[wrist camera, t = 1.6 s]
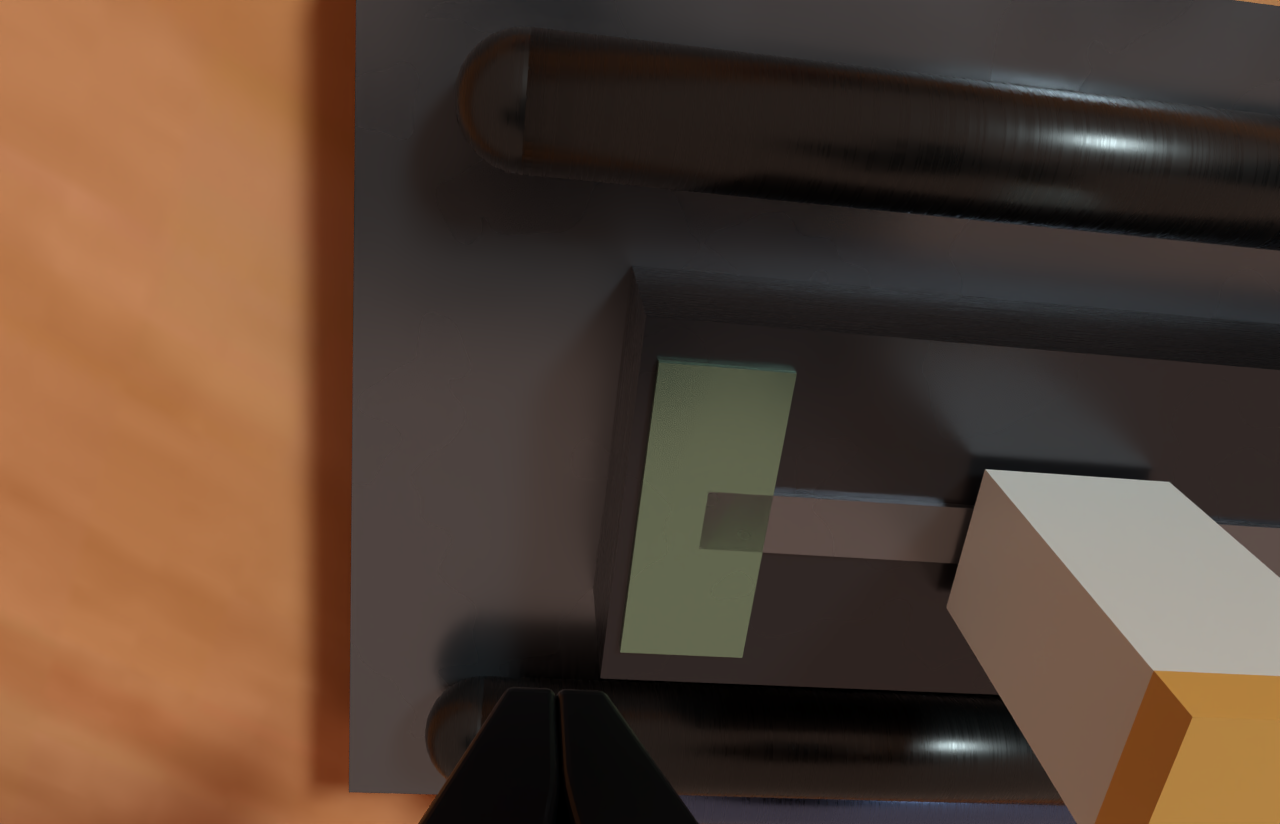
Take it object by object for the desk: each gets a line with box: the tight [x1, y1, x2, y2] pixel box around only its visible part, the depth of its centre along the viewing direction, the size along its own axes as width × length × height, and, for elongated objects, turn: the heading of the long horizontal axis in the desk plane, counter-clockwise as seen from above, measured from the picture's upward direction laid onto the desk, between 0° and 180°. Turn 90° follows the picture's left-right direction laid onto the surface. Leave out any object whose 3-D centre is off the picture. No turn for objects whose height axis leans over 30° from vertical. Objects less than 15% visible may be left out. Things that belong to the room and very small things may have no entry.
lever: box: [946, 469, 1280, 824], centre depth 11 cm, size 2×2×4 cm
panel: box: [349, 0, 1280, 824], centre depth 15 cm, size 18×13×4 cm
